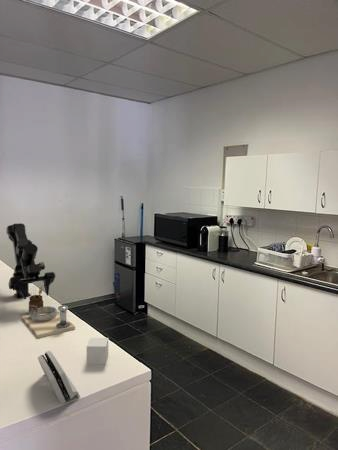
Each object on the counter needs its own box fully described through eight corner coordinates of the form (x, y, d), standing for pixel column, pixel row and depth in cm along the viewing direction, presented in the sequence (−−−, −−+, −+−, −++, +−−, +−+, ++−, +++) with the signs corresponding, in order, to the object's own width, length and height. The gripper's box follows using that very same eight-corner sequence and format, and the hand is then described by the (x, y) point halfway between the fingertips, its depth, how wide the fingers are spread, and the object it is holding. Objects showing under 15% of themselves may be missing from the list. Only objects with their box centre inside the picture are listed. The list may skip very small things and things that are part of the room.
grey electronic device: (80, 398, 88) (67, 367, 85) (63, 409, 86) (49, 378, 83) (61, 368, 102) (49, 341, 99) (46, 378, 99) (33, 350, 96)
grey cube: (90, 355, 110) (90, 337, 110) (108, 355, 111) (108, 337, 110) (86, 364, 105) (86, 346, 104) (105, 364, 105) (106, 346, 104)
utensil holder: (36, 309, 150) (36, 282, 148) (47, 311, 147) (46, 284, 146) (25, 313, 144) (25, 286, 143) (36, 316, 142) (35, 288, 140)
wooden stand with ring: (21, 318, 138) (21, 298, 137) (55, 311, 147) (55, 292, 146) (37, 338, 121) (37, 315, 120) (74, 329, 130) (74, 307, 129)
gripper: (9, 258, 141) (16, 291, 133) (53, 254, 152) (62, 283, 145) (5, 273, 148) (12, 304, 140) (48, 267, 159) (56, 296, 152)
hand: (36, 296), depth 144 cm, fingers open, 9 cm apart
